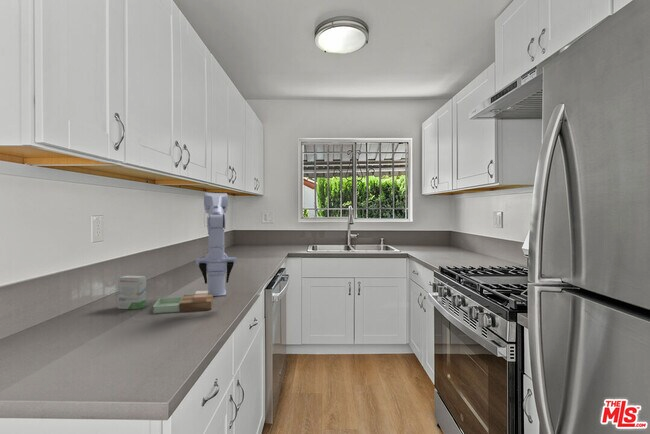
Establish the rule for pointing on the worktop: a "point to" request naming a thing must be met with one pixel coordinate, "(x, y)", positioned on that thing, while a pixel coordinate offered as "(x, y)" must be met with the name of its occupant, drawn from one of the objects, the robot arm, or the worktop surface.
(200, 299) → the terracotta tile
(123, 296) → the ink box
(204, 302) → the walnut board
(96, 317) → the worktop surface
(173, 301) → the tray
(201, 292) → the cream tile
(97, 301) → the worktop surface
